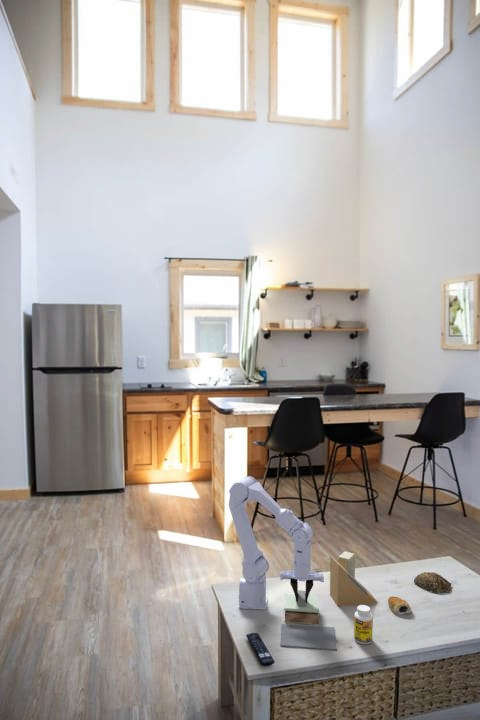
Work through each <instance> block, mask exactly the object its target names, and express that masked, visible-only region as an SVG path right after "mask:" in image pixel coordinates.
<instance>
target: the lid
mask: <svg viewBox="0 0 480 720" xmlns="http://www.w3.org/2000/svg"><path fill="white" fill-rule="evenodd" d="M305 591H306V590H299V589H298V602H296V598H295V594H287V593H284V603H283V604H284V606H283V610H284V612H285V611H300V612H315V613H318V614H319V613H320V606H319V605H320V604H319V596H318V595H309V596H308V599H307V602H305Z"/></svg>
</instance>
